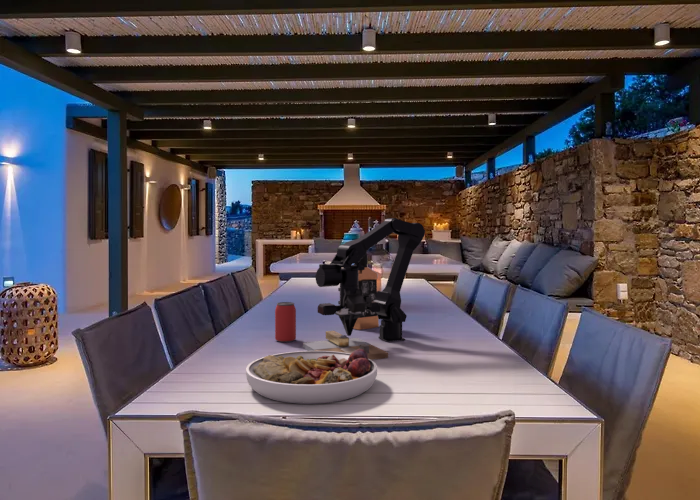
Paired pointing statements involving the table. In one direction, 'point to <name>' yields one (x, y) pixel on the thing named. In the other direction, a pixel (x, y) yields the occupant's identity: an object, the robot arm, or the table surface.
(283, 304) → the beer can
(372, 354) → the door board
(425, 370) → the table surface
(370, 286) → the whiskey bottle
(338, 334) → the swing bar
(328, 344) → the board
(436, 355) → the table surface
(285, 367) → the bowl
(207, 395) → the table surface
